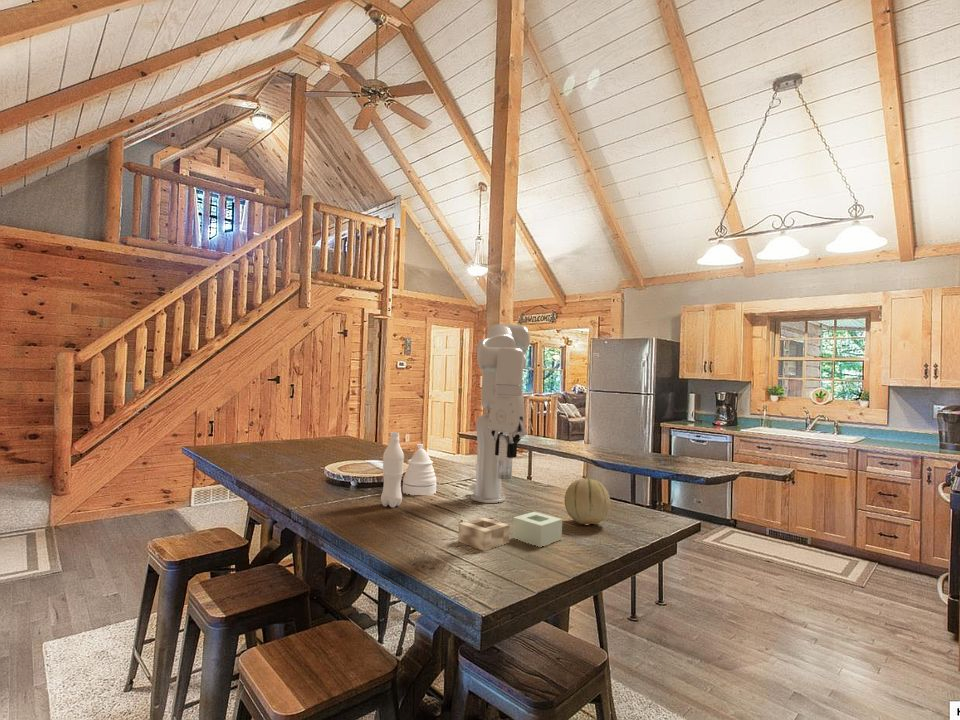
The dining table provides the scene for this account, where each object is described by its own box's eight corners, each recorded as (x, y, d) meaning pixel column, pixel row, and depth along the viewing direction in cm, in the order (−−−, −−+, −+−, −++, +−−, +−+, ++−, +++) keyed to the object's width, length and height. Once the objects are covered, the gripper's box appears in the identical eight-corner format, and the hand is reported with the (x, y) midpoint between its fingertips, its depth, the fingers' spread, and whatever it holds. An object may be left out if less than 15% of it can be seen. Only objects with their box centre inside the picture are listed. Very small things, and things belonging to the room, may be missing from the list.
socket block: (458, 541, 142) (458, 523, 143) (482, 534, 150) (483, 516, 150) (484, 551, 136) (485, 532, 136) (508, 543, 143) (509, 525, 143)
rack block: (512, 538, 147) (513, 517, 147) (533, 531, 154) (534, 511, 155) (540, 547, 140) (541, 525, 140) (561, 540, 148) (562, 519, 148)
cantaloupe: (586, 533, 155) (588, 483, 155) (553, 520, 167) (555, 474, 167) (619, 527, 163) (621, 480, 163) (586, 515, 175) (588, 471, 176)
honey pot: (398, 489, 202) (400, 443, 202) (429, 487, 207) (431, 442, 208) (408, 496, 190) (410, 447, 190) (440, 494, 195) (443, 447, 196)
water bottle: (377, 507, 174) (380, 432, 174) (385, 502, 181) (389, 430, 181) (396, 509, 172) (400, 434, 173) (404, 504, 179) (408, 432, 180)
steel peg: (494, 477, 145) (496, 434, 145) (503, 475, 148) (505, 434, 148) (505, 480, 142) (507, 436, 142) (514, 478, 145) (516, 435, 145)
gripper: (478, 389, 148) (475, 452, 148) (522, 393, 137) (519, 462, 136) (495, 389, 154) (493, 450, 153) (540, 393, 142) (537, 459, 142)
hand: (505, 455), depth 145 cm, fingers closed on steel peg, 4 cm apart
